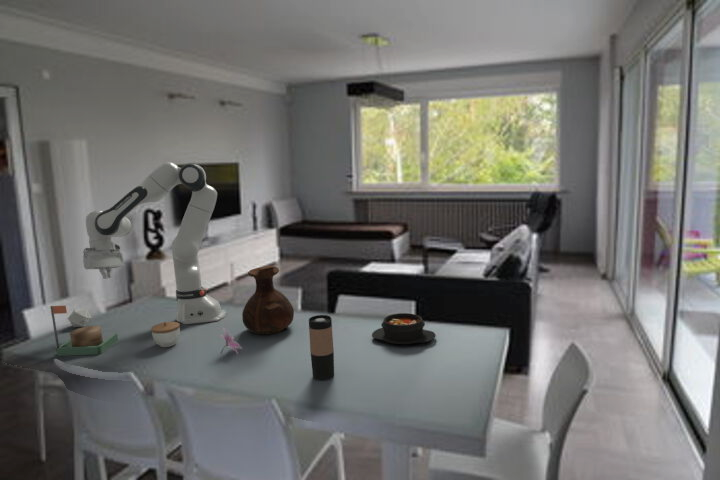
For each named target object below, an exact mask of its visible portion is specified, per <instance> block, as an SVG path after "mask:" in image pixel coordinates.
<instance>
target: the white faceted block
mask: <svg viewBox="0 0 720 480" xmlns="http://www.w3.org/2000/svg"><path fill="white" fill-rule="evenodd" d="M91 319H92V315H91V314H90V313H89V311H88V310H87V309H86V308H75V309H73V311H72V312H71V314H70V315H69V316H68V317H67V320H68V321H69V322H70V324H71V325H72V327H73V328H82V327H87V325H88V323H89V322H90V321H91Z"/></svg>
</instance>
